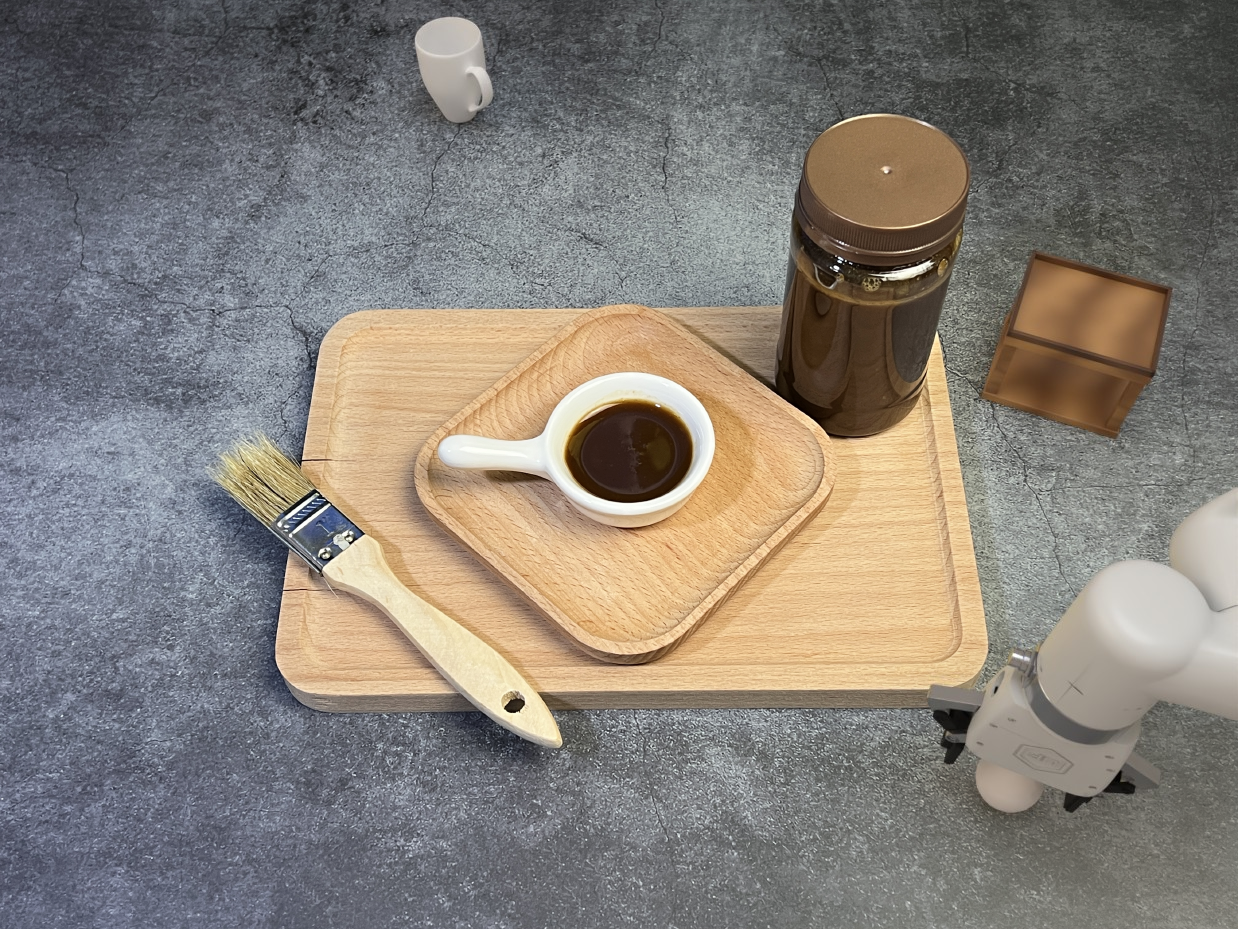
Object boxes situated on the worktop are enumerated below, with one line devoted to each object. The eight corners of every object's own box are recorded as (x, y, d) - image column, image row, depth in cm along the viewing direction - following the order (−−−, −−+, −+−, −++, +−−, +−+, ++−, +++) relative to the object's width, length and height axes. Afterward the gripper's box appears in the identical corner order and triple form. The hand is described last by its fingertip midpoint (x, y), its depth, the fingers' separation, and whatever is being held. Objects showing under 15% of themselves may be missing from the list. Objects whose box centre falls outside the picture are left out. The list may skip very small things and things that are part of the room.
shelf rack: (1133, 356, 120) (1173, 287, 111) (1115, 439, 114) (1155, 373, 105) (1005, 319, 123) (1033, 249, 114) (980, 398, 117) (1008, 330, 108)
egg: (1013, 754, 95) (1038, 722, 89) (1041, 813, 92) (1070, 785, 86) (956, 769, 94) (978, 739, 88) (983, 830, 92) (1008, 802, 85)
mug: (416, 110, 145) (400, 33, 136) (467, 84, 148) (456, 7, 139) (469, 156, 140) (456, 80, 131) (521, 128, 143) (512, 51, 134)
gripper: (945, 687, 75) (893, 771, 89) (1209, 787, 71) (1111, 858, 85) (970, 596, 79) (917, 690, 93) (1222, 687, 75) (1126, 770, 89)
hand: (1010, 770), depth 89 cm, fingers open, 9 cm apart
